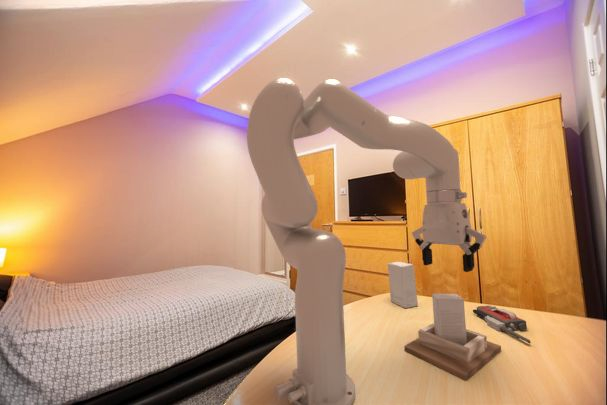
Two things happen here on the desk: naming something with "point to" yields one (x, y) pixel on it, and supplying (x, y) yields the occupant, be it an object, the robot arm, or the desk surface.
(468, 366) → the socket board
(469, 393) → the desk surface
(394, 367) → the desk surface
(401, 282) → the skincare box
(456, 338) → the skincare box
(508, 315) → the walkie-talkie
